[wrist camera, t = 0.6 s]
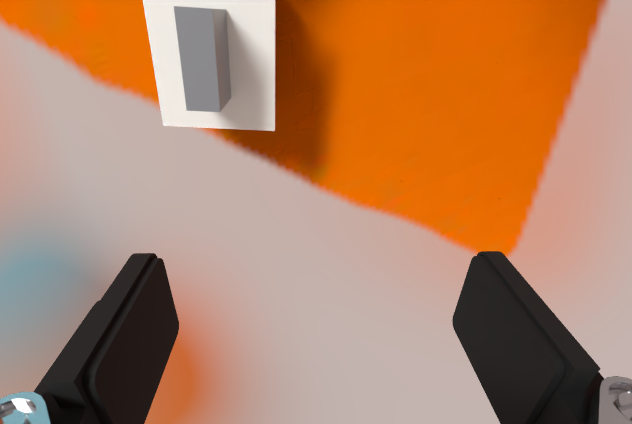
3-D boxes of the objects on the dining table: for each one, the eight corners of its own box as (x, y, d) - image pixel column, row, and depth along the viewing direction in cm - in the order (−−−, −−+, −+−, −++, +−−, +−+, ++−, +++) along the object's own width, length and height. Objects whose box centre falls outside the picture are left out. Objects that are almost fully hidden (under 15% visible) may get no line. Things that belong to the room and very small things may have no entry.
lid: (146, -38, 24) (101, -53, 18) (276, -28, 24) (270, -39, 19) (170, 119, 29) (141, 144, 24) (275, 124, 30) (270, 149, 25)
